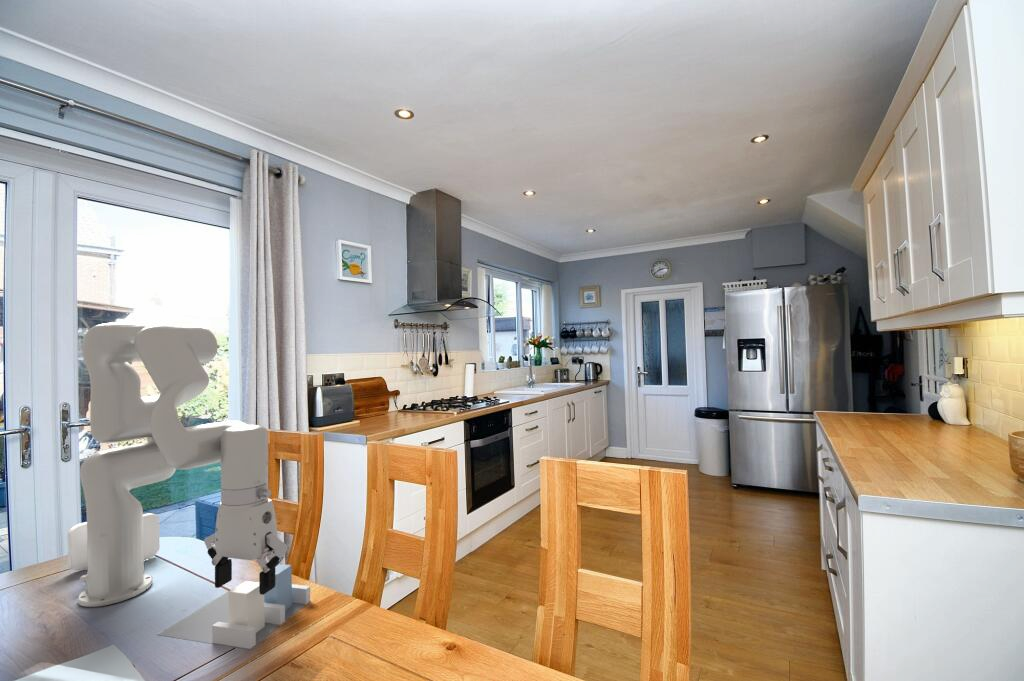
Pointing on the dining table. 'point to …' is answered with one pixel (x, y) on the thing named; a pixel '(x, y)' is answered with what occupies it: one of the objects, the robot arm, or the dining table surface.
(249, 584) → the off-white plug
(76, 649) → the dining table surface
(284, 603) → the blue plug
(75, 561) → the cable organizer
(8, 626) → the dining table surface
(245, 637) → the comb board
